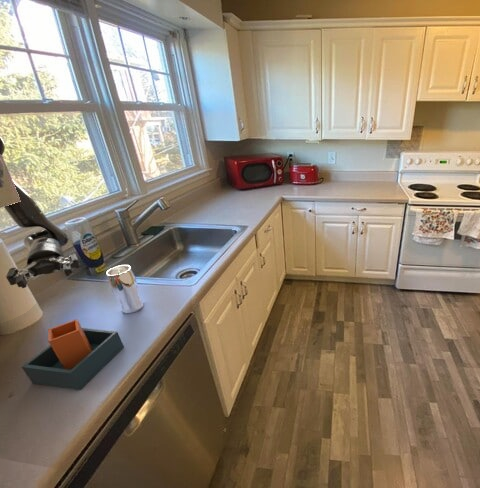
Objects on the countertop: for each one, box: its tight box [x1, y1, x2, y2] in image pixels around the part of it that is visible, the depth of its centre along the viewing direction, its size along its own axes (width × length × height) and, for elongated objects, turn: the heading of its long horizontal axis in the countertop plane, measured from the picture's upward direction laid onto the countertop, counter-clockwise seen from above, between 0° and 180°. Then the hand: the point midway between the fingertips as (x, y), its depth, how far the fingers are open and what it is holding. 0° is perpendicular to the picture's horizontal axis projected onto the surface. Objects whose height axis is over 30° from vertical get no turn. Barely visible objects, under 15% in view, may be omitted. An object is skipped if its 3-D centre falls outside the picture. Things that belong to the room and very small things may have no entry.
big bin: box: [21, 327, 125, 391], centre depth 73 cm, size 14×14×6 cm
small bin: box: [48, 318, 93, 370], centre depth 72 cm, size 6×6×11 cm
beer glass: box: [105, 264, 144, 314], centre depth 92 cm, size 7×7×15 cm
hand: (45, 278), depth 72 cm, fingers open, 8 cm apart
